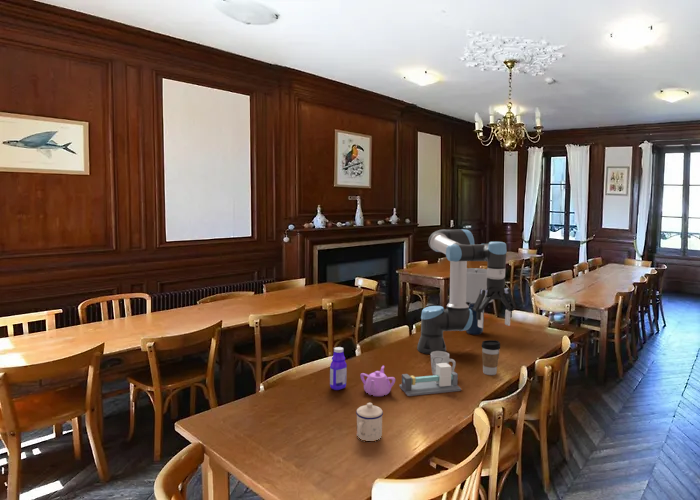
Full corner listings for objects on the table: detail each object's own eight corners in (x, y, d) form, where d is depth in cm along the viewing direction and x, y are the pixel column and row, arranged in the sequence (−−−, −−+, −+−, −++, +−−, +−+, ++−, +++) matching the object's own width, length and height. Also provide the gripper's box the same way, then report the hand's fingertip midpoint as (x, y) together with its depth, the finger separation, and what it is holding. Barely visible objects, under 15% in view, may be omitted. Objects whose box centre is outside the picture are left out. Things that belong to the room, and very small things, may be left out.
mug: (457, 374, 221) (457, 353, 220) (452, 380, 213) (453, 359, 212) (432, 370, 226) (433, 350, 225) (428, 376, 218) (428, 355, 217)
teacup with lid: (364, 427, 170) (364, 395, 168) (387, 434, 165) (387, 401, 164) (346, 441, 159) (346, 408, 158) (370, 449, 155) (370, 415, 153)
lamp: (495, 337, 279) (498, 272, 275) (460, 337, 280) (463, 271, 275) (486, 328, 299) (488, 267, 295) (453, 328, 300) (456, 266, 295)
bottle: (339, 383, 209) (340, 345, 207) (348, 387, 205) (349, 348, 203) (327, 388, 204) (327, 348, 202) (336, 392, 200) (336, 351, 198)
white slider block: (435, 382, 207) (435, 363, 206) (445, 381, 209) (446, 362, 208) (440, 386, 202) (440, 367, 202) (450, 385, 204) (451, 366, 203)
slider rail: (399, 386, 206) (399, 372, 205) (450, 381, 212) (450, 367, 211) (407, 396, 196) (408, 380, 196) (461, 390, 202) (461, 376, 202)
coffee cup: (500, 376, 218) (501, 345, 217) (481, 375, 220) (482, 343, 219) (498, 370, 227) (499, 339, 225) (479, 369, 228) (481, 338, 227)
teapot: (383, 384, 209) (383, 364, 208) (397, 396, 196) (398, 375, 195) (358, 387, 205) (358, 368, 204) (371, 400, 192) (371, 379, 191)
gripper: (474, 280, 198) (472, 330, 201) (526, 278, 205) (523, 326, 208) (465, 277, 205) (463, 325, 208) (515, 275, 212) (513, 321, 215)
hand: (493, 326), depth 208 cm, fingers open, 13 cm apart
